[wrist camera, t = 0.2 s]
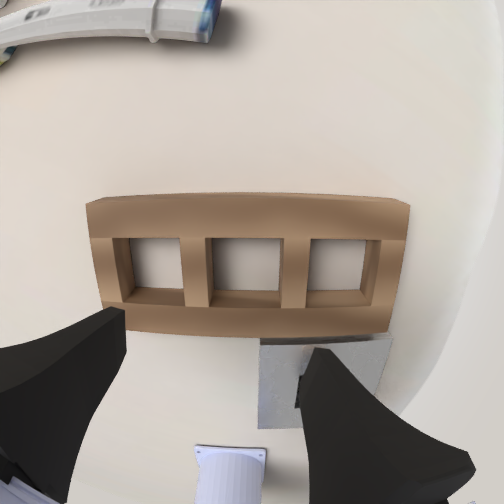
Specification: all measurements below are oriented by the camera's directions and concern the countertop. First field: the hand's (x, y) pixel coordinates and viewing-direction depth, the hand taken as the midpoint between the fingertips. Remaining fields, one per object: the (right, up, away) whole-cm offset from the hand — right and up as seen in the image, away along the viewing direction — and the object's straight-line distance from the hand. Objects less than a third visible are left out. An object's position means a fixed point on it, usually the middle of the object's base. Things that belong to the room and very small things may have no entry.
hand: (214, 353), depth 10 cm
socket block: (+7, -7, +13) cm, 16 cm away
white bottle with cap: (-13, +21, +4) cm, 25 cm away
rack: (+1, +3, +9) cm, 10 cm away
